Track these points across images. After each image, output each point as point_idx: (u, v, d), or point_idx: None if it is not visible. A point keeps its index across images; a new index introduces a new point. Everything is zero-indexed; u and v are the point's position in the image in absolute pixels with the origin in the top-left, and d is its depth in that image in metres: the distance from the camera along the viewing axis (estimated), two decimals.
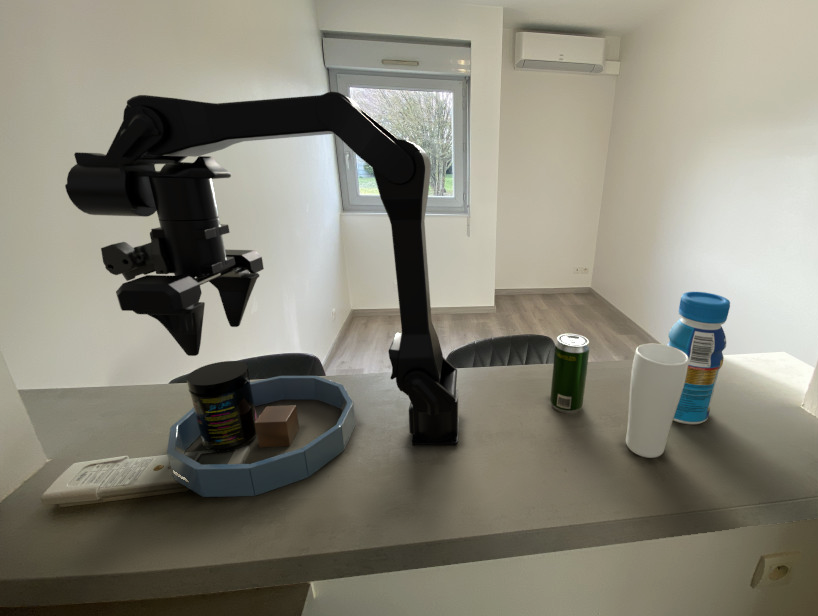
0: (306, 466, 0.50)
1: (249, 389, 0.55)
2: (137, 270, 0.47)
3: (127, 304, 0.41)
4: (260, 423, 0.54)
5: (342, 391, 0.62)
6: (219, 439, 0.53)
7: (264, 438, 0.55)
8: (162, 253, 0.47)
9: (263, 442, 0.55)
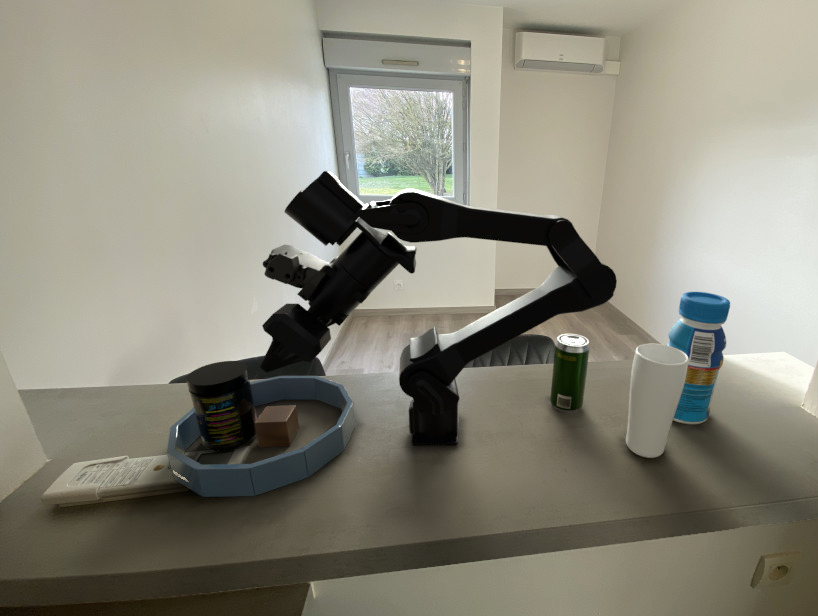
0: (306, 466, 0.50)
1: (249, 389, 0.55)
2: None
3: (273, 331, 0.42)
4: (260, 423, 0.54)
5: (342, 391, 0.62)
6: (219, 439, 0.53)
7: (264, 438, 0.55)
8: (317, 285, 0.48)
9: (263, 442, 0.55)
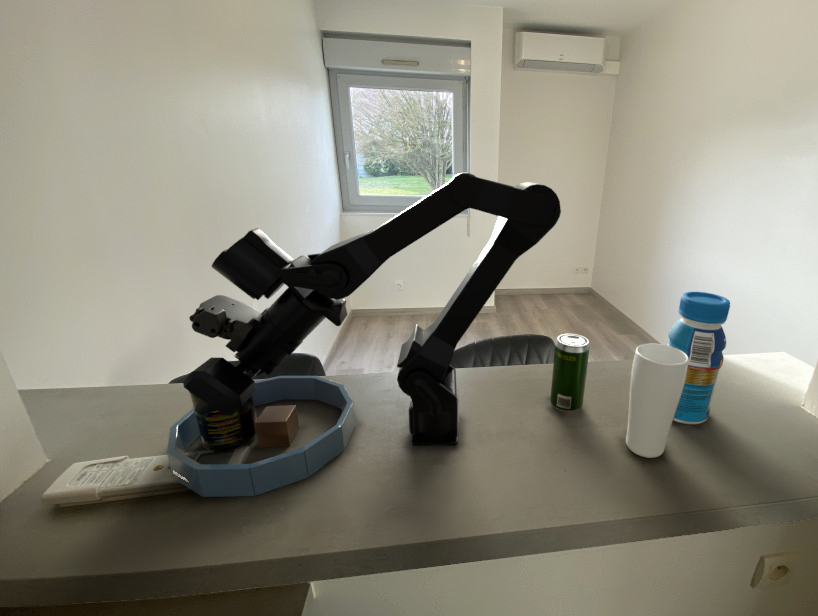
0: (306, 466, 0.50)
1: None
2: None
3: (193, 387, 0.44)
4: (260, 423, 0.54)
5: (342, 391, 0.62)
6: (218, 439, 0.53)
7: (264, 438, 0.55)
8: (245, 337, 0.50)
9: (263, 442, 0.55)
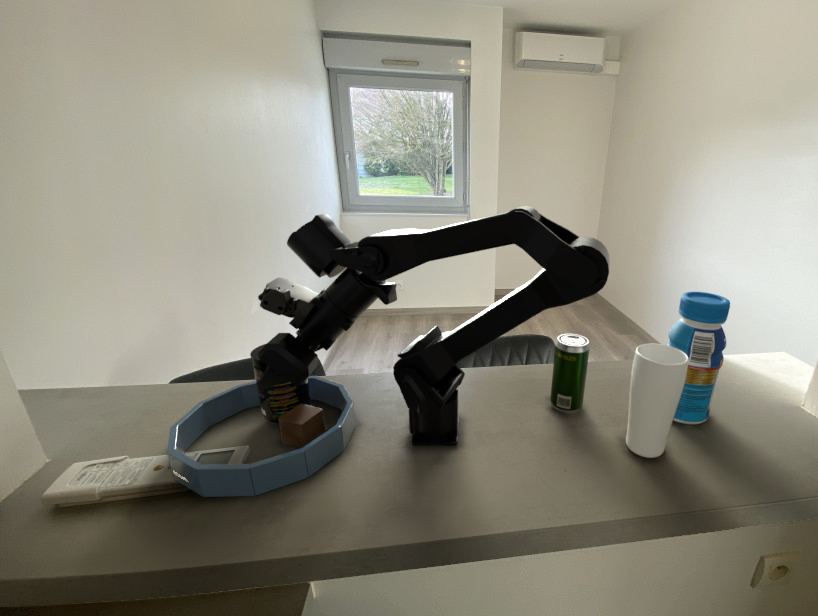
0: (306, 466, 0.50)
1: None
2: None
3: (267, 358, 0.48)
4: (282, 420, 0.55)
5: (342, 391, 0.62)
6: (279, 411, 0.58)
7: (286, 435, 0.56)
8: (307, 315, 0.54)
9: (285, 438, 0.56)
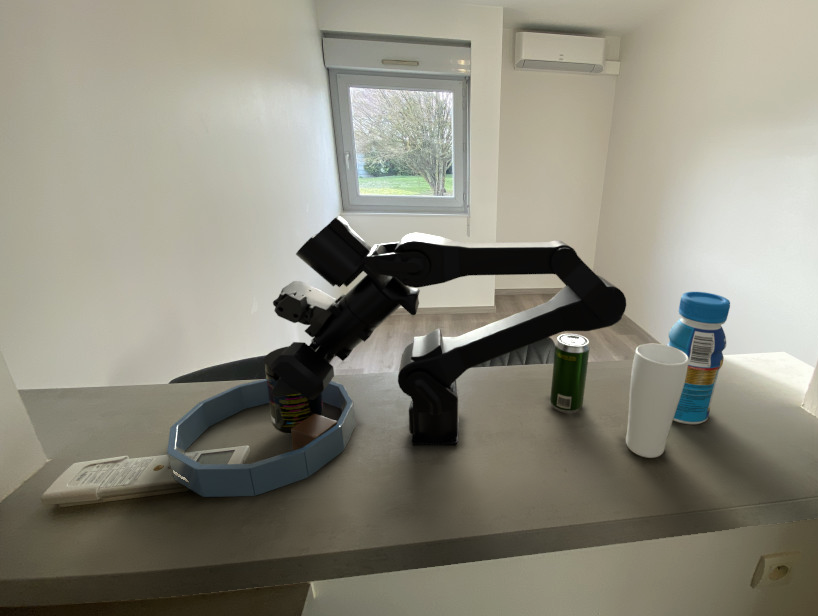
0: (306, 466, 0.50)
1: None
2: None
3: (280, 370, 0.45)
4: (295, 431, 0.53)
5: (342, 391, 0.62)
6: (289, 421, 0.55)
7: (297, 447, 0.53)
8: (323, 323, 0.50)
9: None
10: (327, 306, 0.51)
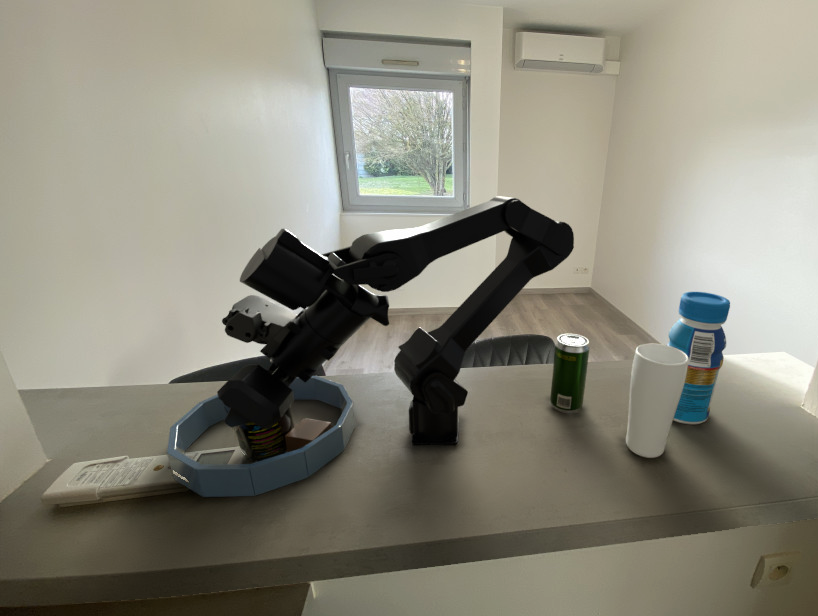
0: (306, 466, 0.50)
1: None
2: None
3: (228, 398, 0.40)
4: (290, 437, 0.52)
5: (342, 391, 0.62)
6: (263, 452, 0.51)
7: None
8: (281, 342, 0.45)
9: None
10: (286, 322, 0.46)
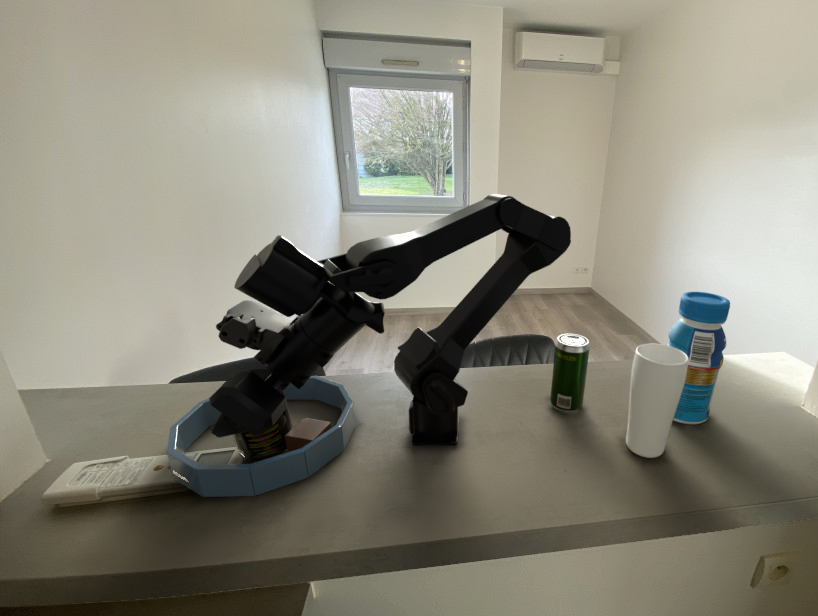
0: (306, 466, 0.50)
1: None
2: None
3: (220, 405, 0.40)
4: (290, 437, 0.52)
5: (342, 391, 0.62)
6: (261, 451, 0.52)
7: None
8: (275, 348, 0.45)
9: None
10: (280, 329, 0.46)
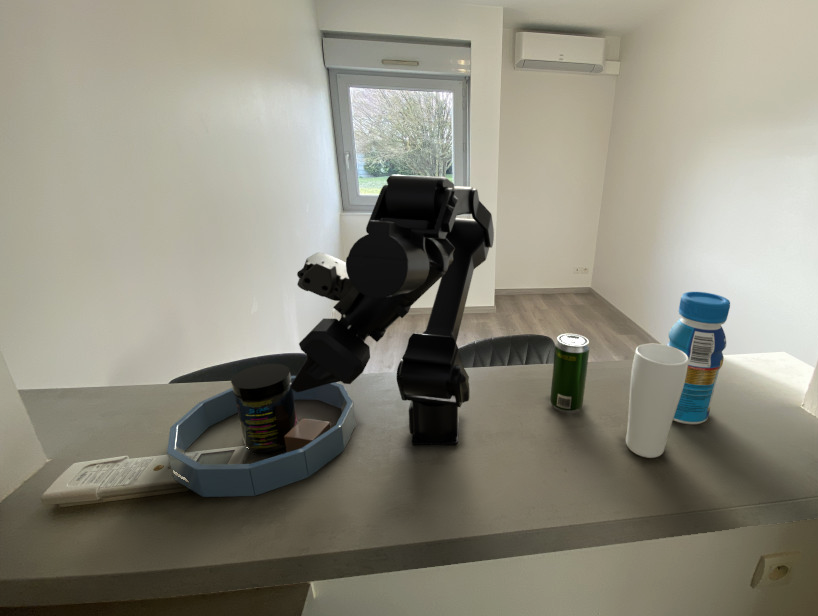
0: (306, 466, 0.50)
1: (289, 395, 0.54)
2: None
3: (311, 350, 0.38)
4: (289, 437, 0.52)
5: (342, 391, 0.62)
6: (257, 442, 0.53)
7: None
8: (355, 298, 0.44)
9: None
10: None
